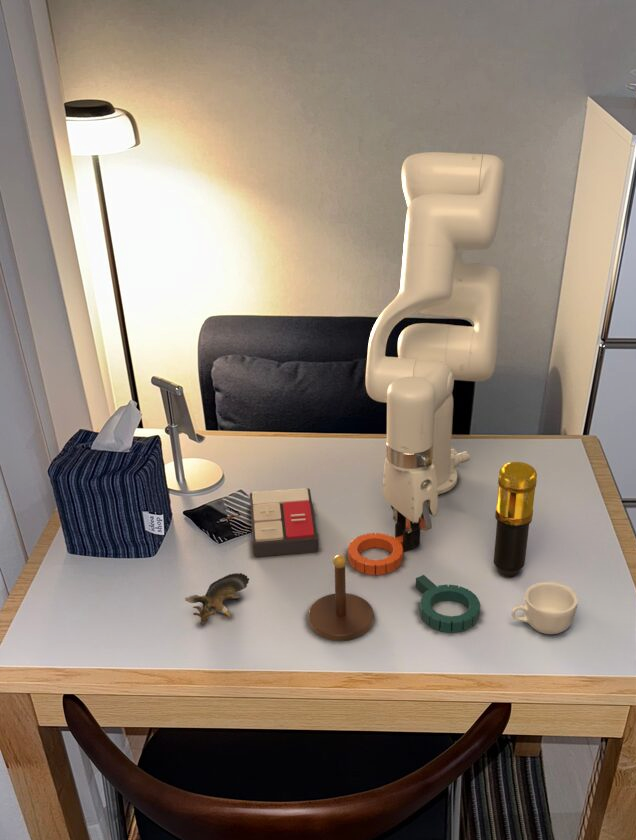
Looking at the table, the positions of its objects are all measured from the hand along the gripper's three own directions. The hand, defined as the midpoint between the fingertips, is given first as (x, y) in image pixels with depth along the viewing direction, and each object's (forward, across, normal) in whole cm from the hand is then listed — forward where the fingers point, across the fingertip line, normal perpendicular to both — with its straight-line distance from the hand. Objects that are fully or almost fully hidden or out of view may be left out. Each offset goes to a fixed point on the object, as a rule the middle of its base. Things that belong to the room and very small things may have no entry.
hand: (407, 543), depth 157 cm
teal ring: (+1, -16, +5) cm, 17 cm away
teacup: (+1, -28, -5) cm, 29 cm away
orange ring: (+1, 0, +5) cm, 5 cm away
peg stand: (0, -10, +20) cm, 22 cm away
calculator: (+1, +16, +16) cm, 22 cm away
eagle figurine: (+1, +2, +35) cm, 35 cm away
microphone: (+1, -16, -13) cm, 21 cm away
